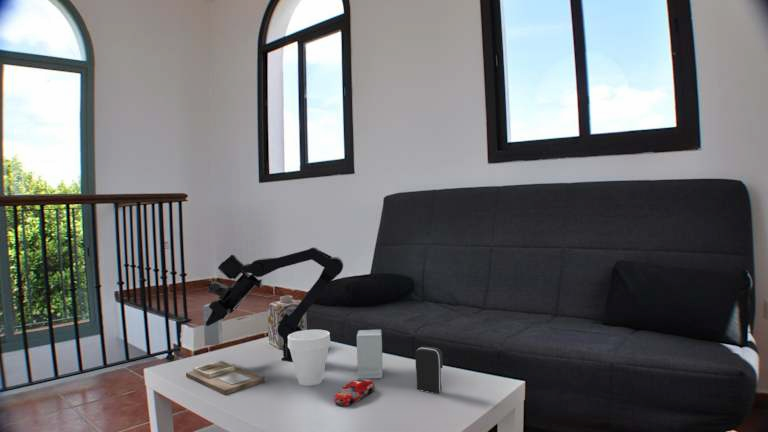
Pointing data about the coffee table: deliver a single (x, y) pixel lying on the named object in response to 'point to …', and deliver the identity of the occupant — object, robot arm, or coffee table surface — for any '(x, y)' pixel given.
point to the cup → (309, 354)
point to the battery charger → (429, 369)
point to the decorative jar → (275, 315)
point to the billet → (212, 329)
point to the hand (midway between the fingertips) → (208, 323)
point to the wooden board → (224, 377)
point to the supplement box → (369, 354)
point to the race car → (354, 392)
